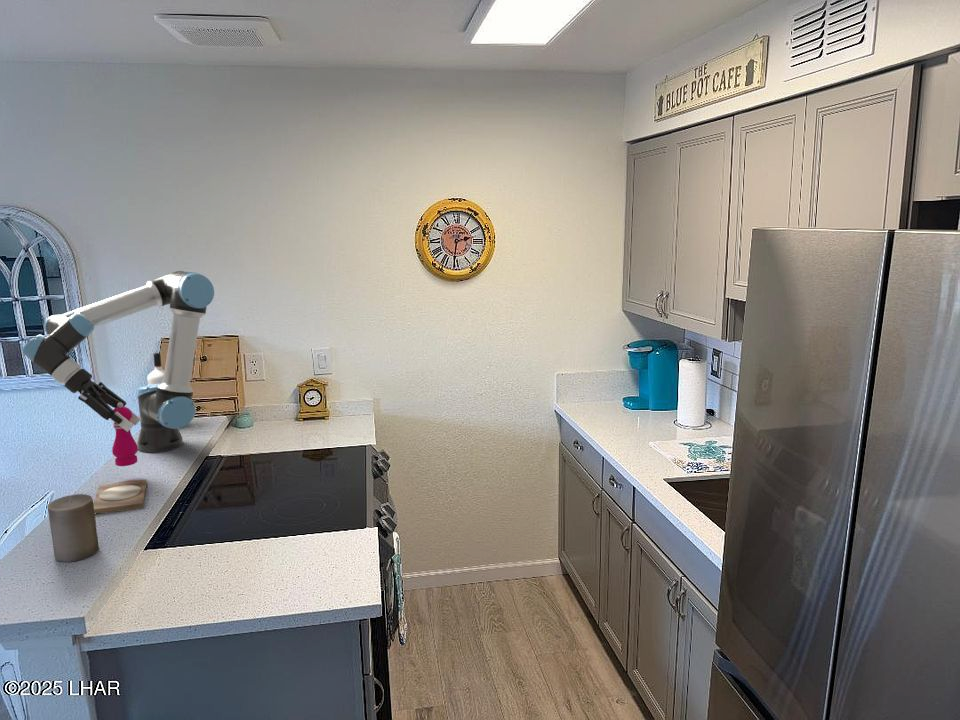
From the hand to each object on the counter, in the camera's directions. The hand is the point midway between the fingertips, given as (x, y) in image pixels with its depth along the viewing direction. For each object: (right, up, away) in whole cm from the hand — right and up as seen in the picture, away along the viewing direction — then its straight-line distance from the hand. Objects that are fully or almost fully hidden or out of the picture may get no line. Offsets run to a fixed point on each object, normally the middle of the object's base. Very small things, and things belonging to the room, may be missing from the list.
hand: (134, 425), depth 215 cm
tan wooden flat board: (+2, -21, -12) cm, 24 cm away
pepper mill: (-4, -12, +2) cm, 13 cm away
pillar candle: (+9, -28, -46) cm, 54 cm away
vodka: (-18, -6, +58) cm, 61 cm away
